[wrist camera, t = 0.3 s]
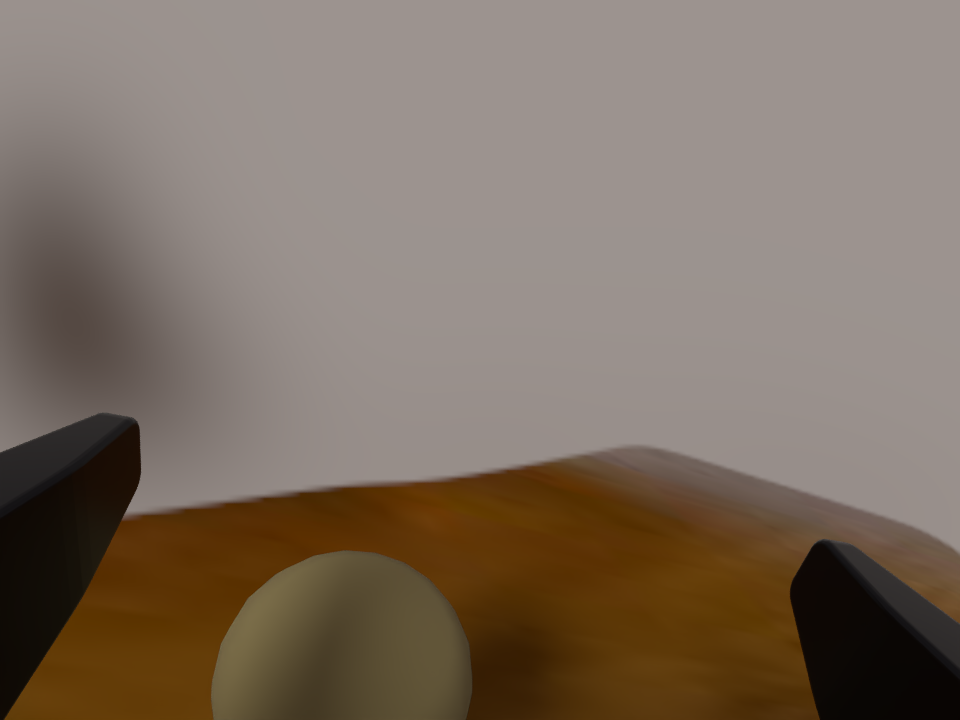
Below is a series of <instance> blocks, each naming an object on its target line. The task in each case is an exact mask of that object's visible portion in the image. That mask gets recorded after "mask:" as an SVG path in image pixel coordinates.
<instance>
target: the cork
mask: <svg viewBox="0 0 960 720" xmlns="http://www.w3.org/2000/svg"><path fill="white" fill-rule="evenodd" d="M471 696H472V670H471V660H470V649H469V642H468V640H467V637H466V635H465V633H464V631H463V628H462V626H461V624H460V621H459V619H458V617H457V614H456V612H455V610H454V609H453V607H452V606H451V604H450V603H449V602H448V601H447V599H446V598H445V597H444V596H443V595H442V593H441V592H440V591H439V590H438V589H437V588H436V586H435V585H434V584H433V583H432V582H431V580H429V579H428V578H426V577H425V576H423V575H422V574H421V573H419V572H418V571H416V570H415V569H413V568H412V567H410V566H409V565H407V564H406V563H403V562H401V561H398V560H395V559H392V558H389V557H386V556H383V555H380V554H378V553H370V552H358V551H346V550H345V551H339V552H333V553H327V554H322V555H316V556H313V557H311V558H308V559H306V560H304V561H302V562H300V563H298V564H295V565H293V566H291V567H289V568H287V569H285V570H283V571H281V572H279V573H278V574H276V575H274V576H273V577H272V578H271V579H270V580H269V581H268V582H266V583H265V584H264V585H263V586H262V587H261V588H259V589H258V590H257V591H256V592H255V593H254V594H253V595H251V596H250V597H249V598H248V599H247V601H246V603H245V604H244V606H243V607H242V609H241V611H240V612H239V614H238V616H237V617H236V619H235V620H234V622H233V624H232V625H231V627H230V629H229V630H228V632H227V634H226V636H225V638H224V640H223V641H222V643H221V646H220V650H219V655H218V659H217V664H216V668H215V672H214V677H213V681H212V695H211V702H212V710H213V718H214V720H466V717H467V713H468V709H469V704H470V700H471Z"/></svg>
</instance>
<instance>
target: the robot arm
mask: <svg viewBox="0 0 960 720" xmlns="http://www.w3.org/2000/svg"><path fill="white" fill-rule="evenodd" d="M140 475H141V454H140V429H139V425H138V422H137V421H136V420H135V419H134V418H132V417H128V416H122V415H116V414H110V413H99V414H97V415H94V416H91V417H89V418H86V419H84V420H81V421H78V422H76V423H73V424H71V425H69V426H66V427H63V428H61V429H58V430H56V431H53V432H51V433H48V434H46V435H43V436H41V437H38V438H36V439H33V440H31V441H28V442H26V443H23V444H21V445H19V446H16V447H13V448H10V449H8V450H6V451H3V452H0V720H4V719H5V717H6V716H7V714H8V713H9V711H10V709H11V708H12V706H13V705H14V703H15V702H16V700H17V699H18V697H19V696H20V694H21V692H22V691H23V689H24V688H25V686H26V685H27V683H28V682H29V680H30V678H31V677H32V675H33V674H34V672H35V671H36V669H37V668H38V666H39V665H40V663H41V661H42V660H43V658H44V657H45V655H46V654H47V652H48V651H49V649H50V647H51V646H52V644H53V643H54V641H55V640H56V638H57V637H58V635H59V634H60V632H61V630H62V629H63V627H64V626H65V624H66V623H67V621H68V620H69V618H70V616H71V615H72V613H73V612H74V610H75V608H76V607H77V605H78V603H79V602H80V600H81V599H82V597H83V595H84V593H85V591H86V590H87V588H88V586H89V584H90V582H91V580H92V578H93V576H94V574H95V572H96V570H97V568H98V566H99V564H100V562H101V560H102V558H103V556H104V554H105V552H106V550H107V548H108V546H109V544H110V542H111V540H112V538H113V536H114V534H115V532H116V530H117V528H118V526H119V524H120V522H121V520H122V518H123V516H124V514H125V512H126V510H127V508H128V506H129V504H130V502H131V500H132V497H133V496H134V494H135V491H136V489H137V487H138V484H139V480H140ZM790 599H791V604H792V608H793V613H794V617H795V621H796V625H797V630H798V634H799V638H800V642H801V647H802V651H803V655H804V659H805V664H806V668H807V672H808V676H809V681H810V685H811V689H812V693H813V697H814V701H815V704H816V708H817V711H818V715H819V718H820V720H960V624H959V623H958V622H956V621H955V620H954V619H952V618H951V617H950V616H948V615H947V614H946V613H944V612H943V611H942V610H940V609H939V608H938V607H936V606H935V605H933V604H932V603H931V602H929V601H928V600H927V599H925V598H924V597H923V596H921V595H920V594H919V593H917V592H916V591H915V590H913V589H912V588H911V587H909V586H908V585H907V584H905V583H904V582H902V581H901V580H900V579H898V578H897V577H896V576H894V575H893V574H892V573H890V572H889V571H888V570H886V569H885V568H884V567H882V566H881V565H880V564H878V563H877V562H875V561H874V560H873V559H871V558H870V557H869V556H867V555H866V554H865V553H863V552H862V551H861V550H859V549H858V548H857V547H855V546H854V545H852V544H849V543H845V542H840V541H834V540H828V539H822V540H819V541H817V542H816V543H814V545H813V546H812V548H811V549H810V551H809V553H808V554H807V556H806V558H805V560H804V561H803V563H802V565H801V566H800V568H799V570H798V572H797V573H796V575H795V577H794V579H793V581H792V584H791V588H790Z"/></svg>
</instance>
